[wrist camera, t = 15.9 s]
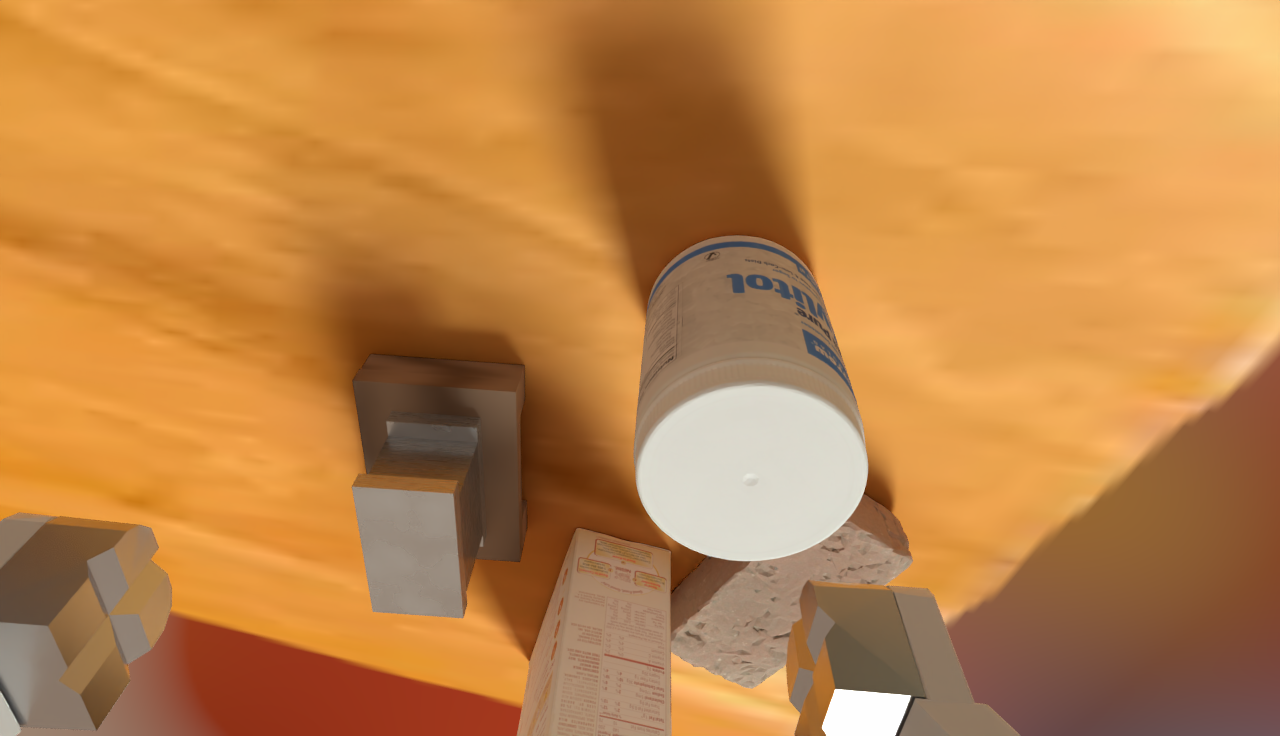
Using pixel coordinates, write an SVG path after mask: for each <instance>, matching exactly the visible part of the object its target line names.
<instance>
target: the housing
mask: <svg viewBox="0 0 1280 736" xmlns="http://www.w3.org/2000/svg"><path fill="white" fill-rule="evenodd" d="M386 423H387V431H388V437H387V439H386V441H385V443H384V445H383V447H382V449H381V451H380V453H379V455H378V457H377V459H376V461H375V463H374V465H373V467H372V469H371V471H370V473H369V474H358V476H357V478H356V480H355V482H354V484H353V485H352V490H353V496H354V502H355V508H356V514H357V520H358V526H359V532H360V538H361V544H362V550H363V556H364V562H365V568H366V573H367V579H368V585H369V591H370V597H371V603H372V609H373V612H383V613H397V614H411V615H425V616H439V617H454V618H463V617H464V614H465V610H466V607H467V594H466V591H467V588H468V584H469V581H470V577H471V574H472V570H473V567H474V563H475V560H476V557H477V553H478V550H479V546H480V547H484V543H485V540H486V536H487V531H486V512H485V493H484V474H483V456H482V437H481V418H480V417H468V416H454V415H440V414H426V413H412V412H398V411H391V413H390V415H389V417H388V419H387V421H386Z"/></svg>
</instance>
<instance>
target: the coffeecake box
mask: <svg viewBox="0 0 1280 736" xmlns="http://www.w3.org/2000/svg"><path fill="white" fill-rule="evenodd" d="M517 736H671V551H669V550H666V549H662V548H659V547H654V546H650V545H646V544H642V543H636V542H630V541H626V540H621V539H618V538H615V537H612V536H609V535H606V534H602V533H598V532H594V531H590V530H586V529H582V528H577V529H576V531H575V533H574V536H573V538H572V541H571V543H570V546H569V549H568V552H567V554H566V557H565V560H564V563H563V566H562V568H561V571H560V574H559V577H558V580H557V583H556V586H555V589H554V592H553V594H552V597H551V600H550V603H549V606H548V609H547V611H546V614H545V617H544V620H543V623H542V626H541V629H540V632H539V635H538V638H537V641H536V644H535V647H534V650H533V652H532V656H531V659H530V662H529V670H528V677H527V683H526V689H525V695H524V701H523V706H522V712H521V717H520V722H519V728H518V733H517Z"/></svg>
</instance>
